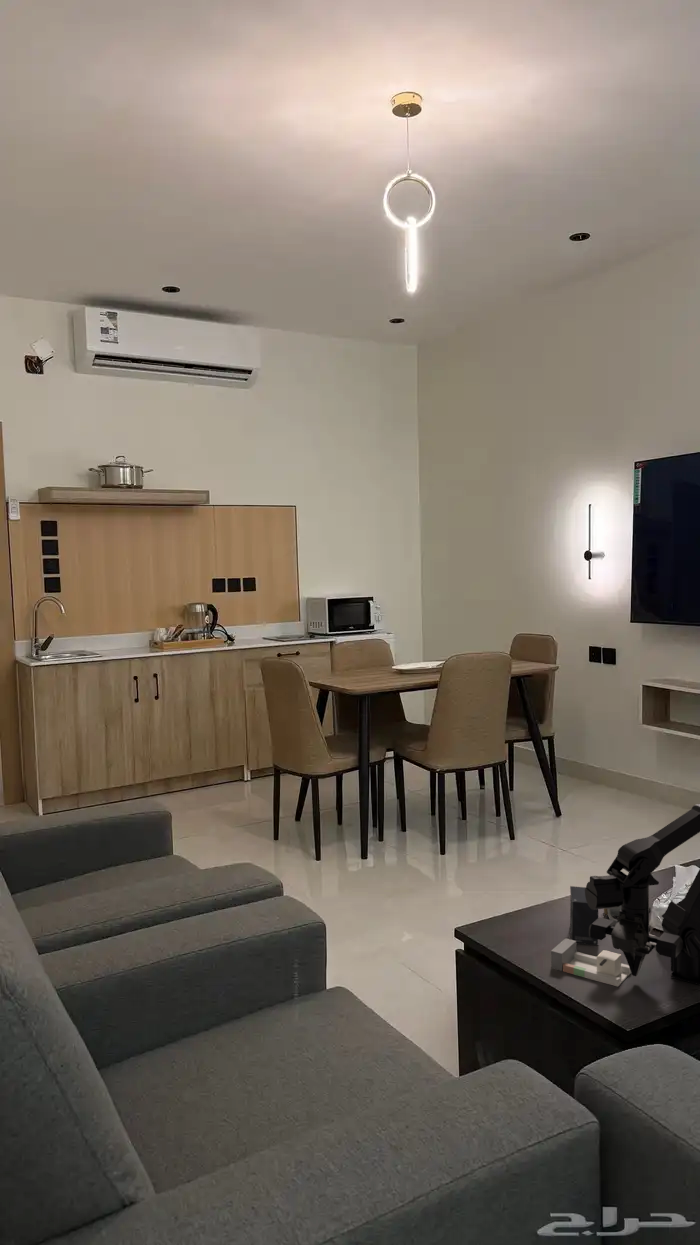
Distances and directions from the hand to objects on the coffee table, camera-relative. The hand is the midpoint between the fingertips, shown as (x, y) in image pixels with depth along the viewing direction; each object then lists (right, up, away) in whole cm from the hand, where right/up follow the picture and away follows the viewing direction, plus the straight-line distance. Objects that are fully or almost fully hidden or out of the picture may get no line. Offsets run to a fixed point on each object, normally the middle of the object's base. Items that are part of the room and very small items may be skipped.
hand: (635, 975), depth 188 cm
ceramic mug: (+8, 0, +35) cm, 36 cm away
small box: (-4, 0, +24) cm, 25 cm away
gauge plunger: (-5, -1, +2) cm, 6 cm away
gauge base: (-8, -1, +6) cm, 10 cm away
